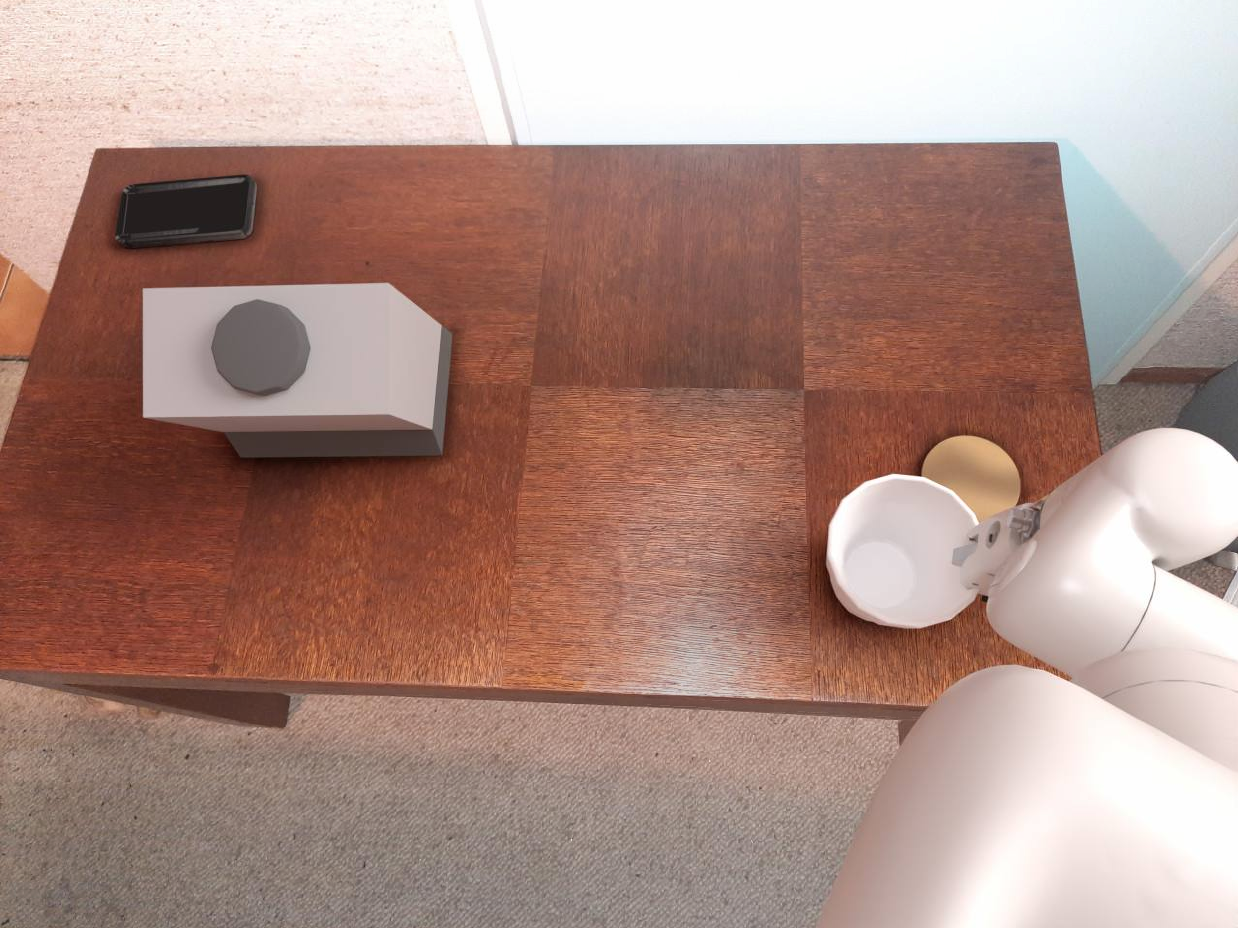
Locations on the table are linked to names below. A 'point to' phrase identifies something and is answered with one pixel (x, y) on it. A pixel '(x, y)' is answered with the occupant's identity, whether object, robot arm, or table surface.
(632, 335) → the table surface
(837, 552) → the cup
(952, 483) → the coaster
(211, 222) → the phone
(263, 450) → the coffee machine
